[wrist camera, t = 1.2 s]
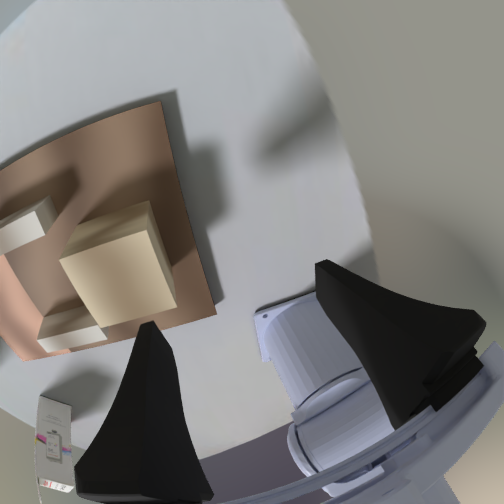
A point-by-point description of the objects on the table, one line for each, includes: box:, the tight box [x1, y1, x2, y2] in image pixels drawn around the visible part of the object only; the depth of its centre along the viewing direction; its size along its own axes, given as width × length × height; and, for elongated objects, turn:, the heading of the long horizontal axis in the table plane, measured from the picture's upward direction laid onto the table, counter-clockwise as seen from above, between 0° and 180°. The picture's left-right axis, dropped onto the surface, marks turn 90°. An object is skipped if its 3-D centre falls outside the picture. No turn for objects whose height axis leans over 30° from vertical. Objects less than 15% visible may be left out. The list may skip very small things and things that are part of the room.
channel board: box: [0, 101, 217, 362], centre depth 14 cm, size 21×16×4 cm
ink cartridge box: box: [35, 396, 75, 503], centre depth 18 cm, size 9×5×15 cm, turn 142°
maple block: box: [59, 200, 177, 328], centre depth 14 cm, size 5×5×4 cm
